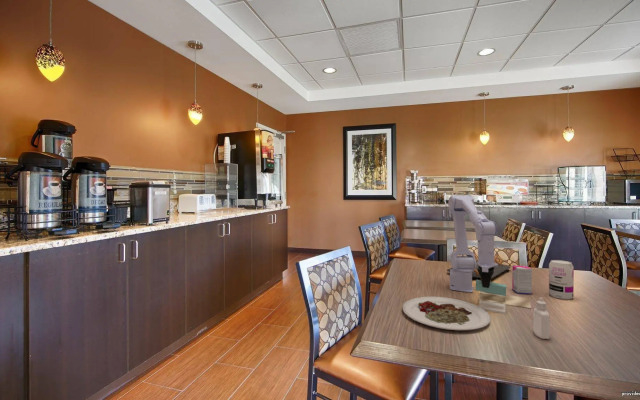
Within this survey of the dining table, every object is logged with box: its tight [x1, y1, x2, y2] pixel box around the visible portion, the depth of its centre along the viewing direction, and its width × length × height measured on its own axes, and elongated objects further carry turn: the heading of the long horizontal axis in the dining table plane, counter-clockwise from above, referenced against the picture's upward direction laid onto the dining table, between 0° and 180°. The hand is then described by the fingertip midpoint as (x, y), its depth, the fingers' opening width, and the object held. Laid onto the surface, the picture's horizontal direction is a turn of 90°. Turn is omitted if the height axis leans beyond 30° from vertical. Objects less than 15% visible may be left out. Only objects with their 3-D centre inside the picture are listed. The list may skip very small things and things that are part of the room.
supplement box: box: [511, 265, 533, 295], centre depth 134 cm, size 6×6×12 cm
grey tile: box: [477, 300, 506, 315], centre depth 117 cm, size 9×9×1 cm
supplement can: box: [548, 259, 575, 301], centre depth 127 cm, size 8×8×15 cm
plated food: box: [402, 296, 491, 331], centre depth 111 cm, size 30×30×3 cm
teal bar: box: [474, 279, 507, 296], centre depth 117 cm, size 10×4×4 cm, turn 59°
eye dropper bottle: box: [532, 297, 551, 340], centre depth 94 cm, size 4×6×12 cm
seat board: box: [478, 291, 532, 310], centre depth 125 cm, size 18×12×4 cm, turn 58°
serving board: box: [446, 258, 511, 279], centre depth 168 cm, size 39×23×6 cm, turn 132°
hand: (486, 285), depth 118 cm, fingers closed on teal bar, 4 cm apart
